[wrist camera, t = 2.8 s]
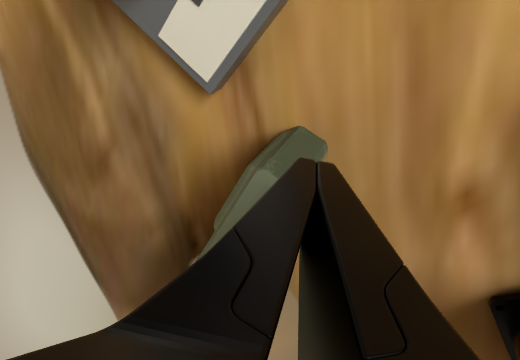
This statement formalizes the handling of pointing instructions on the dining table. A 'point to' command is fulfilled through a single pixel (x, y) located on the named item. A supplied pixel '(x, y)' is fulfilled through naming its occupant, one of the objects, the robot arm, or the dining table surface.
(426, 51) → the dining table surface
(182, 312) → the robot arm
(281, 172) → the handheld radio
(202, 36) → the switch bank
